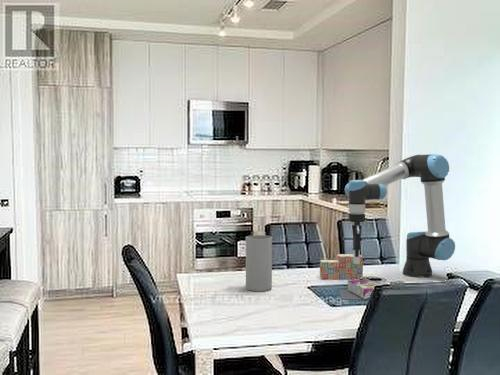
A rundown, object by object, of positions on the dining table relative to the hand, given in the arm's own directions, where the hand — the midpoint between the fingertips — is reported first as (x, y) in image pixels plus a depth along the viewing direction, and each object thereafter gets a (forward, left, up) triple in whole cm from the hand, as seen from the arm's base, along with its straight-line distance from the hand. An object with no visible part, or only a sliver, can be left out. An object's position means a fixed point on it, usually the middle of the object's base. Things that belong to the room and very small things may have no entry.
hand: (356, 263), depth 238 cm
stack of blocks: (+5, -28, -14) cm, 31 cm away
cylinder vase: (+46, -2, -14) cm, 48 cm away
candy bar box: (-1, -3, -11) cm, 11 cm away
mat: (0, +6, -13) cm, 15 cm away
